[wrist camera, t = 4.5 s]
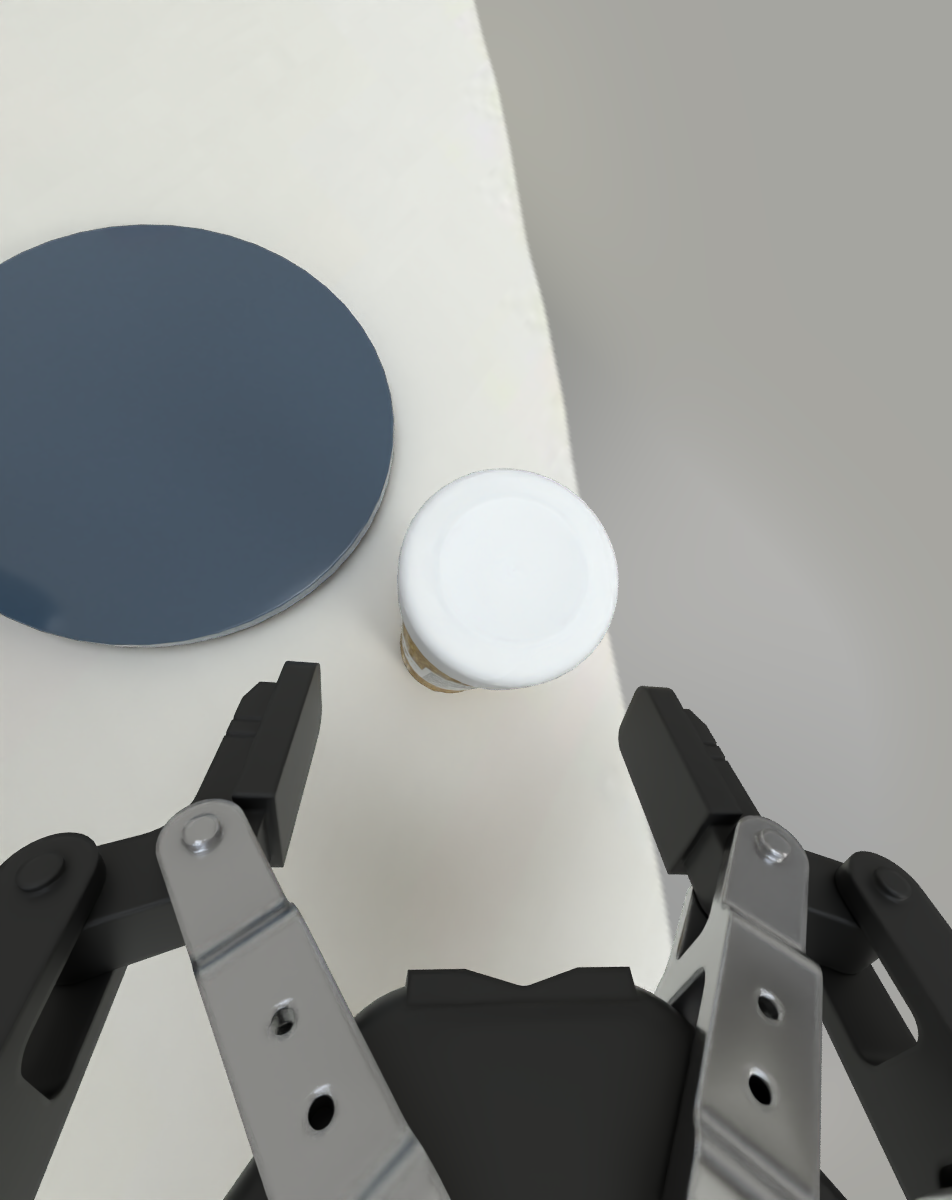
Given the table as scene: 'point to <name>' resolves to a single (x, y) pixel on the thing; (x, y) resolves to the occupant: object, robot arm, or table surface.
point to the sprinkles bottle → (503, 583)
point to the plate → (178, 435)
